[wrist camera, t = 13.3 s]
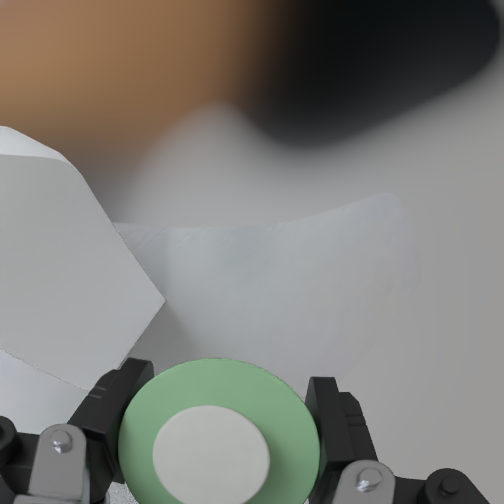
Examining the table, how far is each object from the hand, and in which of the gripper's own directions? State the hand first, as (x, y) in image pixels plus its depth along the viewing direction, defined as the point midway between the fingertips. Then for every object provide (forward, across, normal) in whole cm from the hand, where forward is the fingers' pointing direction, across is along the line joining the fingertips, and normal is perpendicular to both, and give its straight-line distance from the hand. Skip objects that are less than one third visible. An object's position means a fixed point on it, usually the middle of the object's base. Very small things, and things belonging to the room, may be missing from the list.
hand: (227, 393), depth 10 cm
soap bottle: (+2, 0, +5) cm, 5 cm away
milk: (+18, +16, +8) cm, 25 cm away
